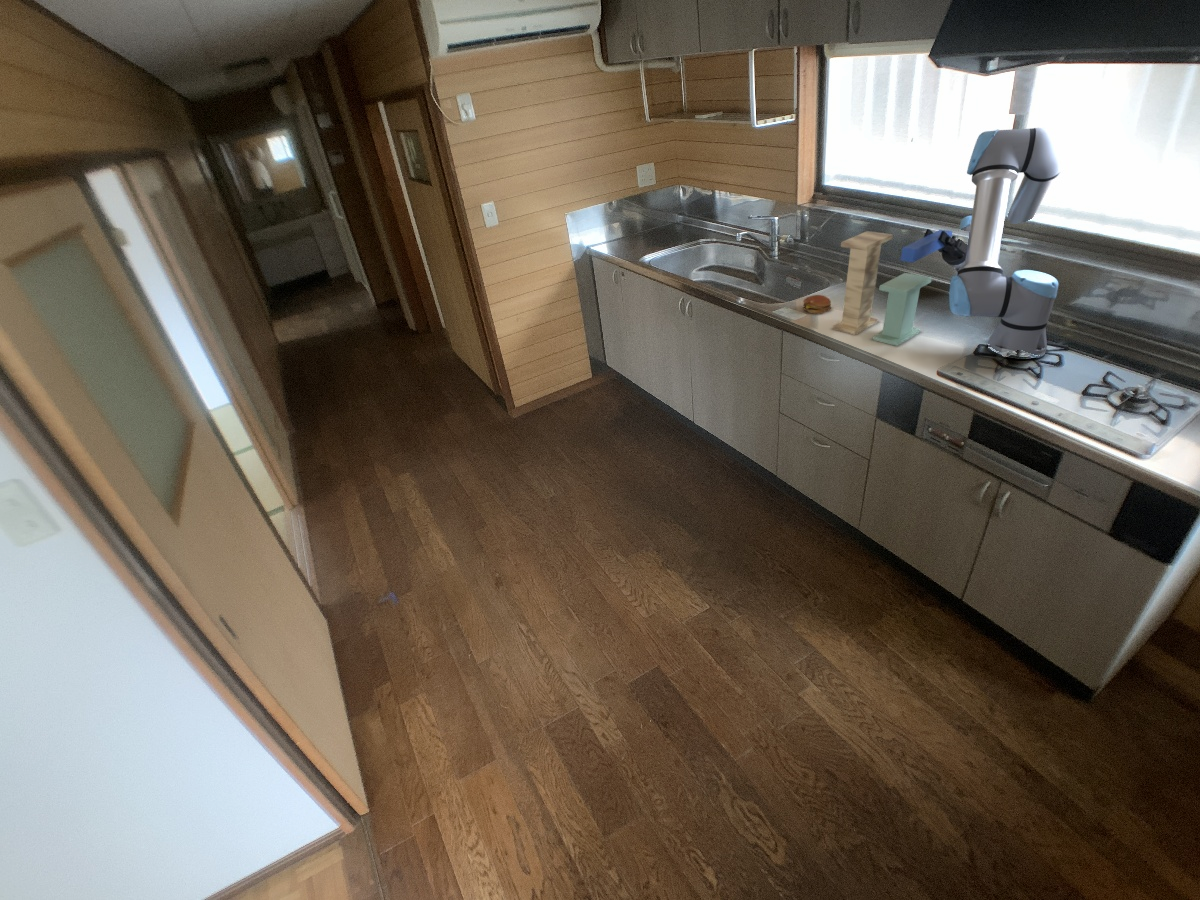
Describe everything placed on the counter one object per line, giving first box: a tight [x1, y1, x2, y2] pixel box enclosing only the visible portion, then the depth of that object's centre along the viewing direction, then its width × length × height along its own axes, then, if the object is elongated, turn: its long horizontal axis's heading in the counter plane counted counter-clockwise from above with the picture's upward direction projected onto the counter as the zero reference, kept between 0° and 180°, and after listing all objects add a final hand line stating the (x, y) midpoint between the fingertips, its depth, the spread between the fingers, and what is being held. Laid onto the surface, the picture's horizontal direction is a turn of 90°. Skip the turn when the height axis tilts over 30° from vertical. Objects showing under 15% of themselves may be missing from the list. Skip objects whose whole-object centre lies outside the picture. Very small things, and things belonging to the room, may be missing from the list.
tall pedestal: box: [832, 230, 894, 336], centre depth 205 cm, size 15×9×30 cm, turn 129°
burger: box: [802, 294, 832, 315], centre depth 227 cm, size 10×9×5 cm
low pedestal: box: [872, 272, 933, 347], centre depth 198 cm, size 15×9×18 cm, turn 129°
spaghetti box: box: [900, 229, 953, 263], centre depth 193 cm, size 23×4×4 cm, turn 128°
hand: (933, 234), depth 193 cm, fingers closed on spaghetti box, 4 cm apart
